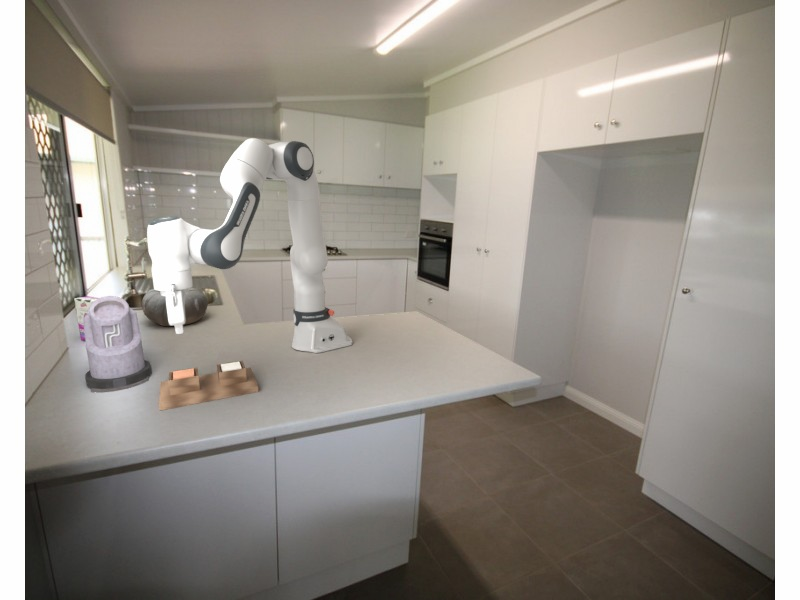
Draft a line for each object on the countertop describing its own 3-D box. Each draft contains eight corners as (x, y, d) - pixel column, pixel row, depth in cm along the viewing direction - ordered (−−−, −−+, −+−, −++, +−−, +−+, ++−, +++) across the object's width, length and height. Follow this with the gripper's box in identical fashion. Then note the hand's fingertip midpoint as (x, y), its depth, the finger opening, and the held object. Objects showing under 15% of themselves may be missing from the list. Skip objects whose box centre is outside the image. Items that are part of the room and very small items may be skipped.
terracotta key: (194, 378, 113) (193, 368, 112) (195, 385, 108) (194, 374, 108) (174, 381, 110) (173, 371, 110) (174, 388, 106) (172, 378, 105)
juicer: (154, 383, 116) (143, 302, 111) (84, 397, 107) (68, 310, 102) (147, 352, 140) (138, 284, 135) (90, 361, 131) (77, 288, 126)
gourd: (130, 316, 173) (134, 277, 170) (189, 314, 193) (193, 279, 190) (155, 334, 158) (160, 292, 155) (216, 330, 178) (221, 292, 176)
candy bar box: (113, 340, 151) (107, 298, 147) (99, 344, 146) (92, 301, 142) (94, 336, 155) (87, 295, 151) (80, 340, 150) (72, 298, 147)
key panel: (250, 373, 124) (249, 355, 123) (258, 391, 112) (257, 371, 111) (161, 388, 113) (159, 368, 112) (159, 410, 101) (156, 388, 100)
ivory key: (240, 371, 118) (239, 361, 118) (242, 377, 114) (241, 367, 113) (221, 374, 116) (220, 364, 115) (223, 380, 112) (222, 370, 111)
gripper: (187, 287, 95) (194, 342, 99) (186, 274, 113) (191, 321, 116) (157, 290, 92) (164, 346, 96) (160, 275, 110) (167, 323, 113)
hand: (179, 332), depth 106 cm, fingers closed
